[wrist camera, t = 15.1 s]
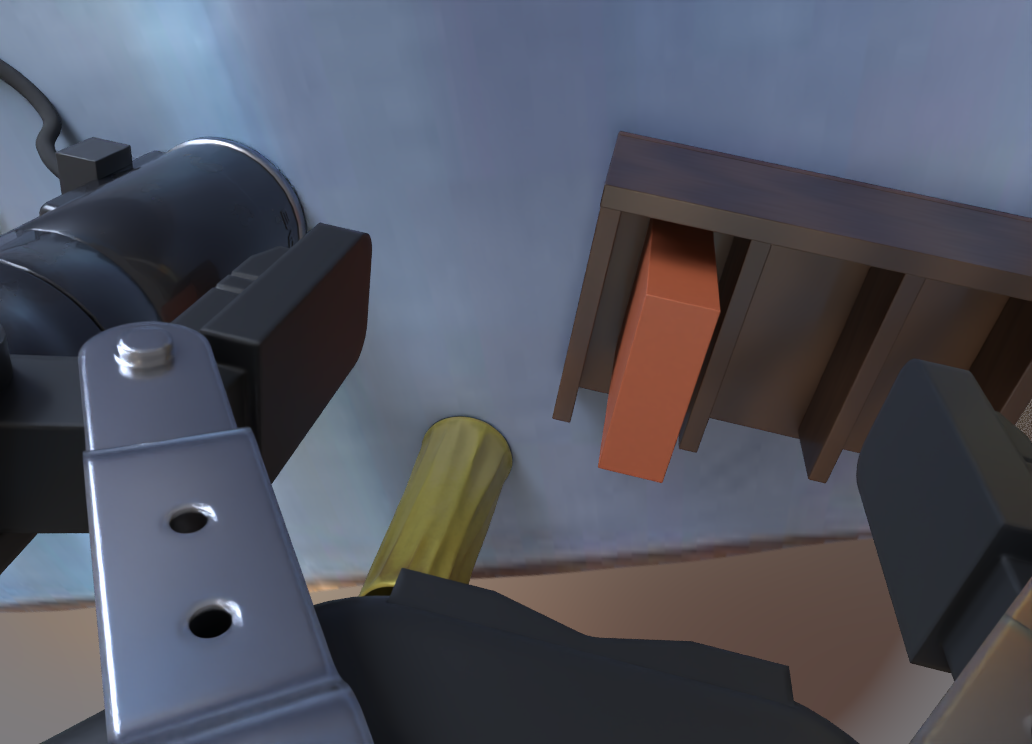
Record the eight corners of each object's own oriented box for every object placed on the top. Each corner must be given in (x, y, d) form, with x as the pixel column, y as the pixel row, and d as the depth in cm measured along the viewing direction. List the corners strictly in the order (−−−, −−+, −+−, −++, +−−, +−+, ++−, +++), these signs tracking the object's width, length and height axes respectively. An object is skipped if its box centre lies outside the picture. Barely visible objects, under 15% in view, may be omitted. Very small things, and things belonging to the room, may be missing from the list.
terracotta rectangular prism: (614, 352, 45) (597, 469, 36) (654, 202, 40) (646, 293, 31) (665, 364, 45) (661, 485, 36) (712, 215, 40) (721, 310, 31)
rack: (562, 376, 48) (540, 464, 40) (619, 130, 40) (604, 184, 32) (928, 462, 46) (975, 570, 39) (1063, 224, 38) (1155, 303, 31)
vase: (464, 502, 54) (402, 675, 42) (404, 441, 52) (321, 603, 40) (531, 464, 52) (485, 637, 40) (470, 399, 50) (403, 559, 38)
